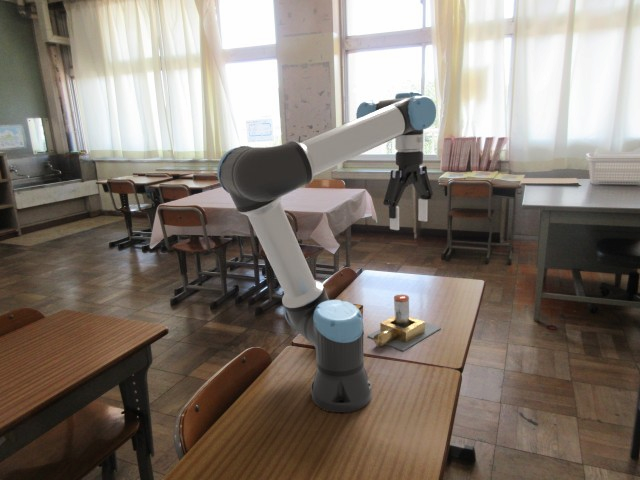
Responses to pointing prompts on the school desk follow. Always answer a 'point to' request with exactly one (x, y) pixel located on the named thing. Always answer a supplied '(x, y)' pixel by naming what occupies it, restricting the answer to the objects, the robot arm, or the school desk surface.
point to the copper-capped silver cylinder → (401, 310)
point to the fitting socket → (398, 331)
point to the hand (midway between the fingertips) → (409, 225)
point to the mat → (403, 346)
